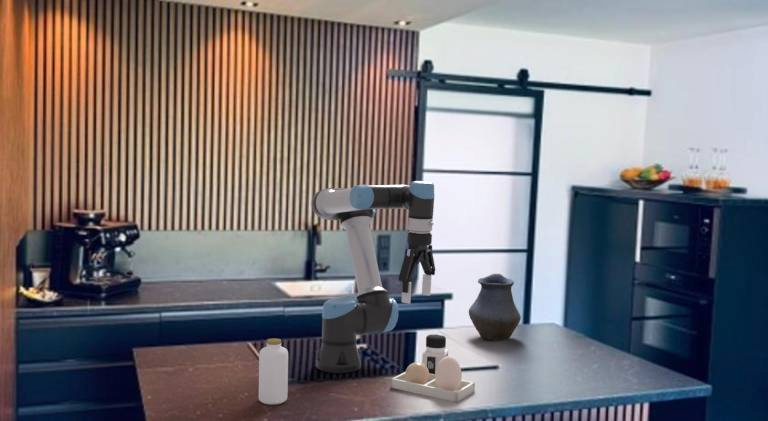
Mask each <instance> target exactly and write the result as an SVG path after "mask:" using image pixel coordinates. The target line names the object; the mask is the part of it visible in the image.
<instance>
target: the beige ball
mask: <svg viewBox="0 0 768 421" xmlns="http://www.w3.org/2000/svg"><path fill="white" fill-rule="evenodd" d="M405 372H406V374H405V375H406V379H407V381H408V382H413V383H417V384H422V385H424V384H425V383H426V382H427V381H428V379H429V370H428V368H427V367H426V366H425V365H424V364H423V363H422V362H419V361H416V362H412V363H410V364H409V365H408V366H407V368H406V369H405Z"/></svg>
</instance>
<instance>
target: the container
mask: <svg viewBox="0 0 768 421" xmlns="http://www.w3.org/2000/svg"><path fill="white" fill-rule="evenodd" d="M446 344H447V338H446V336H444V335H443V334H439V333H431V334H428V335H427V336H426V337H425V349H424V351H423V352H422V357H421V363H423V364H424V365H425V366H426V367H427V368H428V370H429V373H431V374H435V373H436V368H437V366H438V364H439V362H440V361H441V360H442V359H443V358H444V357H446V356H449V349H448V348H447V345H446Z"/></svg>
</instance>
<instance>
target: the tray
mask: <svg viewBox="0 0 768 421" xmlns="http://www.w3.org/2000/svg"><path fill="white" fill-rule="evenodd" d="M405 374H406V371H404V372H402V373H400V374H399V375H396V376H393V377H391V378H390V389H391V388H392V389H396V390H401V391H405V392H410V393H414V394H418V395H423V396H427V397H432V398H436V399H441V400H445V401H449V402H450V401H451V402H453V403H454V402H455V403H458V402H460V401H461V400H463V399H465V398H466V397H468V396H469V395H471V394H473V393H474V392H475V387H476V386H475V385H476V384H475V382H473V381H469V380H464V379H461V383H460V385H459V387H458V389H457V390H456V391H450V390H445V389H440V388H439V387H438V386H437V383H436V380H435V374H431V373H429V379H428V381H427V382H426V383H425V384H424V385H422V384H417V383H413V382H408V381H407V379H406V375H405Z"/></svg>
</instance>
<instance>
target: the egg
mask: <svg viewBox="0 0 768 421" xmlns="http://www.w3.org/2000/svg"><path fill="white" fill-rule="evenodd" d="M462 375H463V373H462V368H461V366H460V363H459V361H458V360H457V359H456V358H455V357H453V356H451V355H448V356H446V357H444V358H443V359H442V360H441V361H440V362H439V364H438V366H437V368H436V373H435V380H436V383H437V386H438V387H439V388H440V389H445V390H450V391H456V390H457V389H458V387H459V385H460V383H461V380H462V377H463V376H462Z"/></svg>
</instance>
